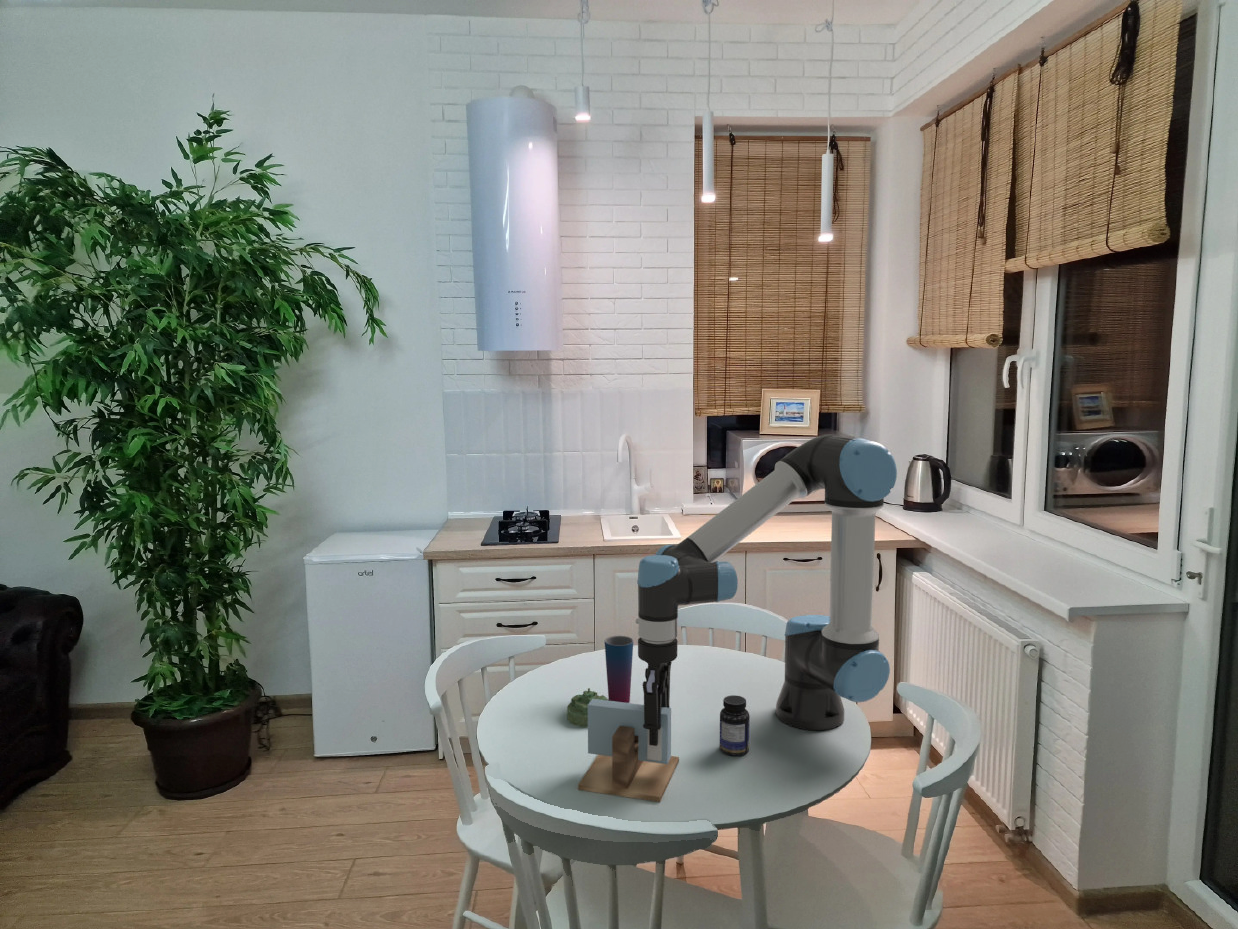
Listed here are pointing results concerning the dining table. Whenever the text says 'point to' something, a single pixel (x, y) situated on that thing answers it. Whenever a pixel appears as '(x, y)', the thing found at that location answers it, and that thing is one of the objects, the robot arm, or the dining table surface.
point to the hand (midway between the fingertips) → (657, 754)
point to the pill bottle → (734, 726)
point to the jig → (628, 771)
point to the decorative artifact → (581, 708)
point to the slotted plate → (614, 714)
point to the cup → (619, 667)
